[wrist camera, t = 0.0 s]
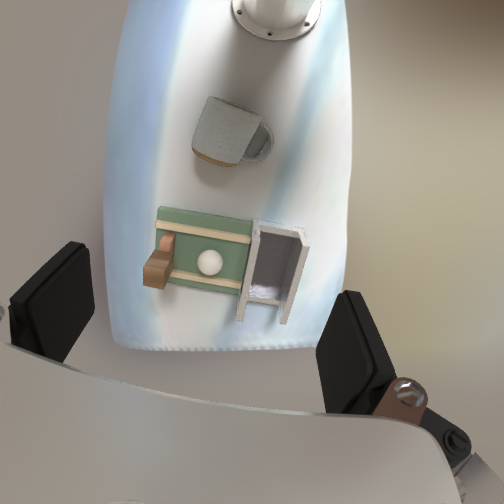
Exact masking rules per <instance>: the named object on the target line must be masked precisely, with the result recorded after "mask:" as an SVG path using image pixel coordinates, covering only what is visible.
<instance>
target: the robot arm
mask: <svg viewBox="0 0 504 504" xmlns="http://www.w3.org/2000/svg"><path fill="white" fill-rule="evenodd" d="M232 7H233V12H234V15H235V17H236V19H237V20H238V22H239V23H240V24H241V25H242V26H243V27H244V28H245V29H246V30H247V31H249V32H250V33H252V34H254V35H256V36H259V37H261V38H265V39H269V40H288V39H292V38H296V37H298V36H300V35H303V34H304V33H306V32H307V31H309V30H310V29H311V28H312V27H313V26H314V24H315V23H316V21H317V19H318V17H319V15H320V10H321V2H320V0H232ZM240 12H241V13H242V14H241V15H239V14H238V13H240ZM305 24H306V25H308V26H307V27H306V26H304V25H305ZM269 33H270V34H271V36H269V35H268V34H269ZM10 303H11V305H10V306H9V307H7V306H6V305H5V304H3V303H1V302H0V504H502V502H503V500H504V483H503V481H502V480H501V479H500V478H499V477H498V476H497V475H496V474H495V472H494V471H493V470H492V469H491V468H490V467H489V466H488V465H487V464H486V463H485V462H484V461H483V460H482V458H481V457H480V456H479V455H478V454H477V453H476V452H475V453H474V454H473V455H472V454H471V453H470V452H471V441H470V439H469V437H468V436H467V434H466V433H465V432H464V431H463V430H461V429H460V428H458V427H457V426H455V425H454V424H452V423H451V422H449V421H447V420H446V419H444V418H443V417H441V416H440V415H438V414H436V413H435V412H433V411H432V410H430V409H429V408H427V407H426V406H427V402H428V396H427V393H426V391H425V389H424V388H423V387H422V386H421V385H420V384H419V383H418V382H416V381H415V380H413V379H410V378H405V377H400V378H397V376H396V373H395V369H394V367H393V365H392V362H391V360H390V357H389V355H388V353H387V350H386V348H385V346H384V343H383V341H382V339H381V337H380V334H379V332H378V330H377V327H376V325H375V323H374V321H373V319H372V316H371V314H370V312H369V310H368V308H367V306H366V303H365V301H364V299H363V297H362V295H361V293H360V292H356V291H349V290H345V291H344V292H343V293H339V294H338V296H337V298H336V301H335V303H334V306H333V308H332V311H331V313H330V316H329V318H328V321H327V323H326V326H325V328H324V330H323V333H322V335H321V338H320V340H319V342H318V345H317V347H316V359H317V364H318V370H319V375H320V381H321V386H322V392H323V397H324V403H325V409H326V413H313V412H299V411H286V410H274V409H263V408H255V407H247V406H239V405H232V404H225V403H219V402H212V401H206V400H201V399H195V398H189V397H185V396H179V395H175V394H170V393H165V392H161V391H156V390H152V389H148V388H144V387H140V386H136V385H131V384H128V383H124V382H121V381H117V380H113V379H110V378H106V377H103V376H99V375H96V374H93V373H90V372H87V371H83V370H80V369H77V368H74V367H71V366H68V365H66V364H63V361H64V360H65V358H66V357H67V355H68V353H69V352H70V350H71V348H72V347H73V345H74V344H75V342H76V340H77V339H78V337H79V336H80V334H81V332H82V331H83V329H84V328H85V326H86V325H87V323H88V322H89V320H90V319H91V317H92V315H93V313H94V310H95V304H94V296H93V287H92V278H91V269H90V255H89V250H88V248H86V246H85V244H83V243H78V242H73V241H70V242H69V243H68V244H66V245H65V247H63V248H62V249H61V250H60V251H59V252H58V253H56V254H55V255H54V256H53V257H52V258H51V259H50V260H49V261H48V262H47V263H46V264H44V265H43V266H42V267H41V268H40V269H39V270H38V271H37V272H36V273H35V274H34V275H33V276H32V277H31V278H30V279H29V280H28V281H27V282H26V283H25V284H24V285H23V286H22V287H21V288H20V289H19V290H18V291H17V292H16V293H15V294H14V295H13V296H12V297H11V298H10Z"/></svg>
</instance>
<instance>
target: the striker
mask: <svg viewBox="0 0 504 504" xmlns="http://www.w3.org/2000/svg"><path fill="white" fill-rule="evenodd" d="M175 235H176V234H173V233H168V232H166V233H165V234H164V236H163V237H162V239H161V240H160V246H159V250H154V252H153V253H152V255H151V256H150V258H149V259H148V261H147V262H146V264H145V266H144V267H143V286H148V287H153V288H158V289H164V287H165V285H166V283H167V281H168V279H169V277H170V275H171V272H172V270H173V261H174V248H175Z"/></svg>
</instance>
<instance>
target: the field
mask: <svg viewBox="0 0 504 504" xmlns="http://www.w3.org/2000/svg"><path fill="white" fill-rule="evenodd" d="M155 228H157V230H156V249H155V250H159V246H160V240H161V239H162V237H163V236H164V234H165V233H166V232H168V233H173V234H176V235H175V248H174V261H173V270H172V272H171V275H170V277H169V279H168V281H167V282H169V283H175V284H180V285H185V286H191V287H196V288H201V289H207V290H213V291H218V292H224V293H230V294H236V295H239V293H240V289H241V284H242V277H243V272H244V267H245V262H246V257H247V252H248V247H249V244H250V239H251V232H252V222H251V221H245V220H240V219H234V218H228V217H223V216H217V215H211V214H205V213H199V212H193V211H187V210H181V209H175V208H168V207H162V206H160V207H159V209H158V214H157V221H156V223H155ZM205 250H215V251H217V252H218V253H219V254H220V255H221V256H222V259H223V266H222V268H221V270H220V271H219V272H218V273H217V274H214V275H206V274H204V273H202V272H201V271H200V269H199V268H198V264H197V260H198V257H199V255H200V254H201V253H202V252H203V251H205Z"/></svg>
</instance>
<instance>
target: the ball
mask: <svg viewBox="0 0 504 504" xmlns="http://www.w3.org/2000/svg"><path fill="white" fill-rule="evenodd" d="M197 264H198V268H199V269H200V271H201V272H202V273H204V274H206V275H214V274H217V273H218V272H219V271H220V270H221V268H222V266H223V259H222V256H221V255H220V254H219V253H218V252H217V251H215V250H205V251H203V252H202V253H201V254H200V255H199V257H198V260H197Z"/></svg>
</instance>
